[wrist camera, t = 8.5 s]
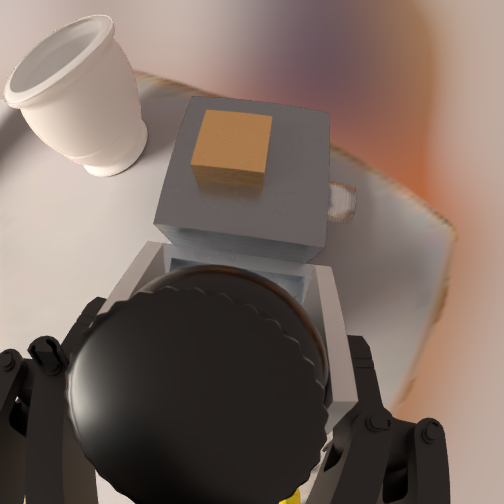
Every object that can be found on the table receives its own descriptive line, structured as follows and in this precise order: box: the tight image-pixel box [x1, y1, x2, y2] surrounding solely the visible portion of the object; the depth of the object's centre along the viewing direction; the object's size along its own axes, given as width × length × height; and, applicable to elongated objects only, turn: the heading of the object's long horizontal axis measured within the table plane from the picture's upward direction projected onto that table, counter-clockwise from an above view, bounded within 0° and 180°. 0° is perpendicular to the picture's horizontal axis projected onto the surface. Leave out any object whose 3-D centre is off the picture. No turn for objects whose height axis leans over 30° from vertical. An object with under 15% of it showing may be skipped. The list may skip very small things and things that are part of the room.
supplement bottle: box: [64, 264, 329, 504], centre depth 9 cm, size 7×7×12 cm
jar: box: [3, 15, 148, 177], centre depth 20 cm, size 11×10×15 cm
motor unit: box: [153, 96, 356, 306], centre depth 19 cm, size 14×21×11 cm, turn 172°
